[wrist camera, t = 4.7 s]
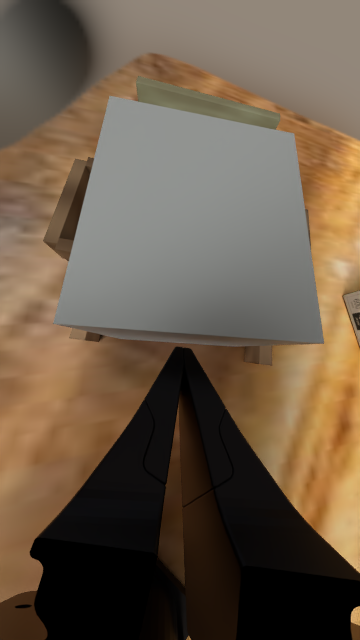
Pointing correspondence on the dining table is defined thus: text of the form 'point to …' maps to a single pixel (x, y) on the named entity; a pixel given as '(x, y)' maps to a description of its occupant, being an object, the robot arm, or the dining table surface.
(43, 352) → the dining table surface
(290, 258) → the block
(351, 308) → the light bulb box
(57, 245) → the lane
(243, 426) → the dining table surface
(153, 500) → the robot arm
